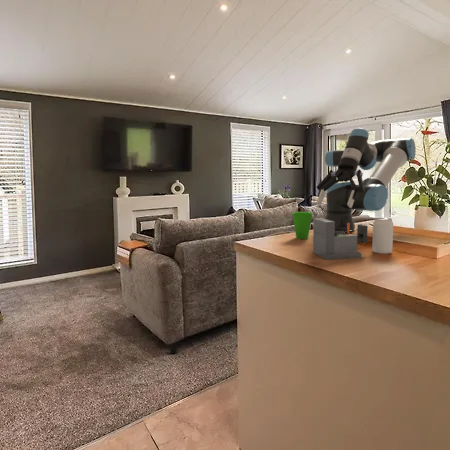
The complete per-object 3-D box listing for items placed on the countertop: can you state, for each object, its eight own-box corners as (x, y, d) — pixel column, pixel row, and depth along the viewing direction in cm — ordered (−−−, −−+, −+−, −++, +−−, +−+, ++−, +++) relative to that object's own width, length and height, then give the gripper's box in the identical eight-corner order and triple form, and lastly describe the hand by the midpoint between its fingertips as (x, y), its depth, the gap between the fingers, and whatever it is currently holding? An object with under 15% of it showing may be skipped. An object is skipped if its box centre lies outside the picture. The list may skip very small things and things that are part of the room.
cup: (290, 236, 159) (290, 212, 157) (310, 235, 159) (310, 211, 157) (293, 240, 150) (293, 214, 148) (314, 239, 150) (314, 214, 148)
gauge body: (345, 250, 128) (346, 216, 126) (361, 257, 117) (362, 220, 116) (312, 252, 126) (313, 218, 125) (325, 259, 116) (326, 222, 114)
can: (396, 252, 123) (397, 218, 121) (384, 255, 120) (385, 220, 118) (380, 249, 129) (381, 216, 127) (368, 251, 126) (369, 218, 124)
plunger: (360, 243, 125) (360, 219, 124) (368, 246, 120) (369, 222, 118) (336, 244, 124) (336, 221, 123) (344, 248, 118) (344, 223, 117)
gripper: (319, 157, 153) (302, 199, 147) (376, 154, 135) (359, 201, 129) (326, 167, 158) (310, 208, 152) (382, 166, 140) (367, 212, 134)
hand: (333, 205), depth 141 cm, fingers open, 13 cm apart
